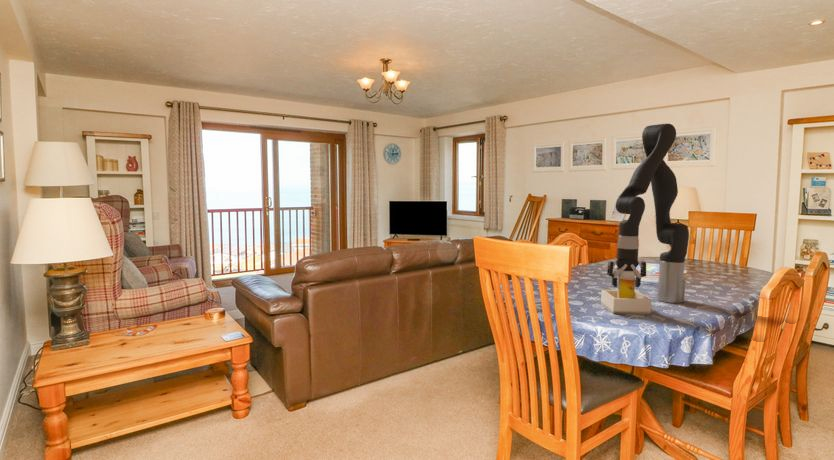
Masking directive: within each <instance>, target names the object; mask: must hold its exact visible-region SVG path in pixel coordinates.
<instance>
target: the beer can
mask: <svg viewBox="0 0 834 460" xmlns="http://www.w3.org/2000/svg"><path fill="white" fill-rule="evenodd" d="M635 277H636V276H635V272H634V271H622V273H621V274H619V275H618V276H617V290H618V291H617V298H633V299H634V290H635V288H636V287H635Z"/></svg>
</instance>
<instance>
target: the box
mask: <svg viewBox="0 0 834 460" xmlns="http://www.w3.org/2000/svg"><path fill="white" fill-rule="evenodd" d="M617 291H618V289H601V292H600V293H601V295H600V297H601V299H600V300H601V301H600V305H602V306H603V307H605V309H607V310H608V311H609V312H610V313H611V314H613V315H644V314H647V315H648V316H649V315H650V316H651V314H652V313H651V312H652V311H651V310H652V299H651V298H650V297H648V296H646V295H644V294H643V293H641V292H640V291H638V290H637V289H634V299H633V298H617Z"/></svg>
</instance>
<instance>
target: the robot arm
mask: <svg viewBox="0 0 834 460" xmlns="http://www.w3.org/2000/svg"><path fill="white" fill-rule="evenodd" d="M676 137H677V129H676V127H675V126H674V125H673V124H671V123H660V124H651V125H647V126H645V127H644V129H643V130H642V136H641V139H642V140H641V141H642V145H643V149H644V153H645V157H646V158H645V159H644V160H643V161H642V162H641V163H640V164H639V165H638V166H637V167H636V169H634V171H633V173H632V176H631V178H630V180H629V183H628V184H627V186H626V187H624V189H623V190H622V192H621V193H620V194H619V196H618V197H617V199H616V202H615V208H616V209H615V210H616V212H617V213H620V214H623V215H629V217H628V218H627V219H624V220H621V221H620V222H619V227H618V228H619V229H618V239H617V251H616V252H617V254H616V261H613V260H609V261H608V265H607V270H606V274H607V276H609V277H611V286H613V288H618V275H619V274H621V273H622V271H634V272H635V287H634V288H640V286H641V279H642V278H646V277H647V262H646V261H644V260H641V261H638V259H639V247H640V244H639V243H640V241H639V240H640V239H639V236H640V235H639V231H640V224H641V221H642V218H643V216H644V212H645V209H646V204H645V200H644V198H643V197H641V196H639V195H644V194H646V193H647V190H648V189H649V187H650V185H651V192H652V197H653V204H654V210H655V212H654V213H655V230H656V231H655V232H656V237H657V240H658V242H659V243H661V244H665V245H670V246H671V247H670V249H669V250H668V251H665V252H661V253H660V254H659V267H658V282H657V283H658V284H657V285H658V286H657V298H656V299H657V300H658V301H661V302H664V303H669V304H680V303H685V292H686V283H687V282H686V279H684V277H685V274H684V273H685V261H686V256H687V254H688V246H689V239H690V231H689V228H688V226H687V225H686V224H683V223H677V222H676V223H675V222H674V223H673V222H671V216H670V215H671V213H670V212H671V209H672V207H673V204H674V203H675V201H676V199H677V196H678V192H679V189H678V182H677V177H676V175H675V173H674V172H673V169H671V167H670V166H669V165H668V164H667V163H666V162H665V160H664V159H665V157H666V156H667V154H668V152H669V151H670V150H671V148H672V146H673V144H674V142H675V141H676ZM615 266H616V268H615V269H614V267H615ZM638 266H639V269H640V273H639V270H638V269H637V267H638Z"/></svg>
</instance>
